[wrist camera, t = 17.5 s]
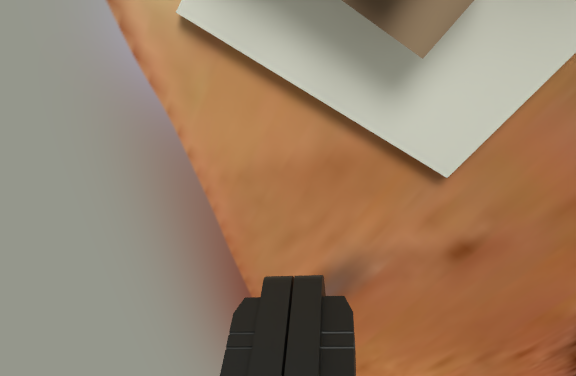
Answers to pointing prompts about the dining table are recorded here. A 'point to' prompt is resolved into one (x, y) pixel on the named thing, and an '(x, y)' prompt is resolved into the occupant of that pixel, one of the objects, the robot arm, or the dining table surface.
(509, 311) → the dining table surface
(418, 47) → the brown rectangular block
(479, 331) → the dining table surface
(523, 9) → the board
